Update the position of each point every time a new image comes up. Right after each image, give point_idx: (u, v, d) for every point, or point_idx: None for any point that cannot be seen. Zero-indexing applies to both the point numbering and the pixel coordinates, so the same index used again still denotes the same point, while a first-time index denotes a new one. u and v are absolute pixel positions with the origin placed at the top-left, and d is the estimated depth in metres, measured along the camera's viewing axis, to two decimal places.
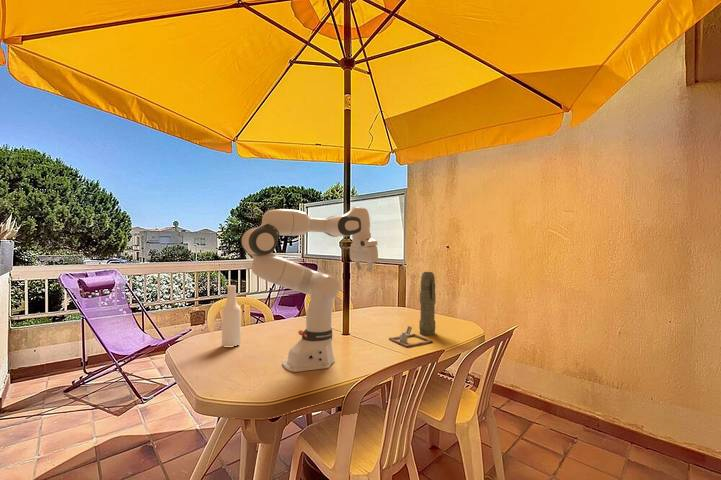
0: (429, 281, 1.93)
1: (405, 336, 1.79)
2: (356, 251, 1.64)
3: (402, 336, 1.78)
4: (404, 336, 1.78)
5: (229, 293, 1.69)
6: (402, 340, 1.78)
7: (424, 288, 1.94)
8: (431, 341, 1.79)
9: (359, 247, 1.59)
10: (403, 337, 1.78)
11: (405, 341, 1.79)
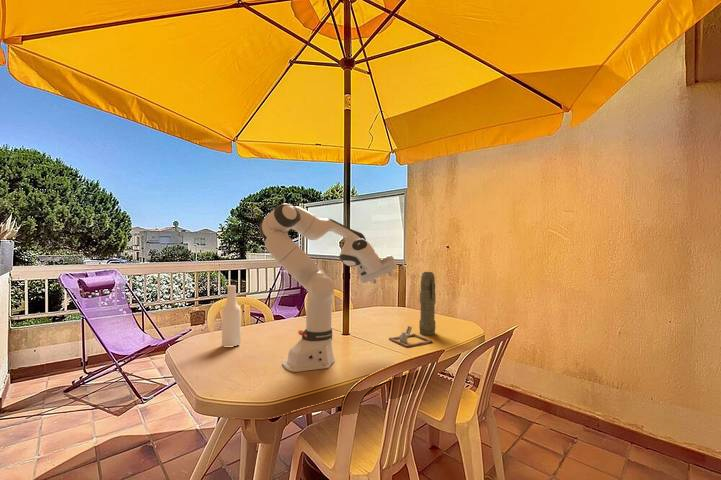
0: (429, 281, 1.93)
1: (405, 336, 1.79)
2: None
3: (402, 336, 1.78)
4: (404, 336, 1.78)
5: (229, 293, 1.69)
6: (402, 340, 1.78)
7: (424, 288, 1.94)
8: (431, 341, 1.79)
9: None
10: (403, 337, 1.78)
11: (405, 341, 1.79)
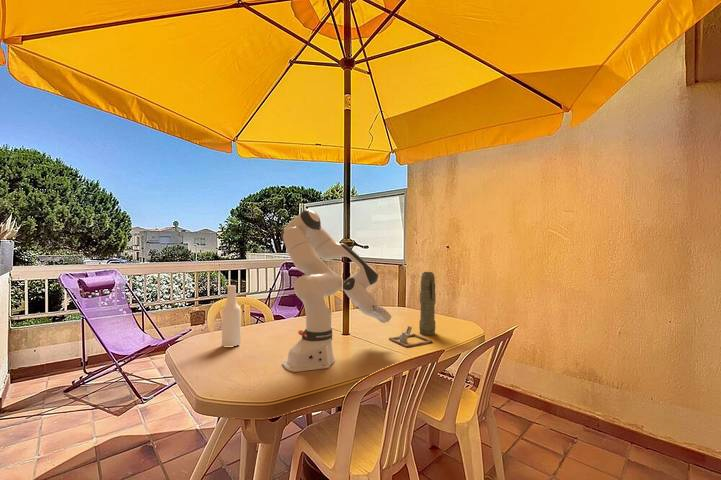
0: (429, 281, 1.93)
1: (405, 336, 1.79)
2: None
3: (402, 336, 1.78)
4: (404, 336, 1.78)
5: (229, 293, 1.69)
6: (402, 340, 1.78)
7: (424, 288, 1.94)
8: (431, 341, 1.79)
9: None
10: (403, 337, 1.78)
11: (405, 341, 1.79)
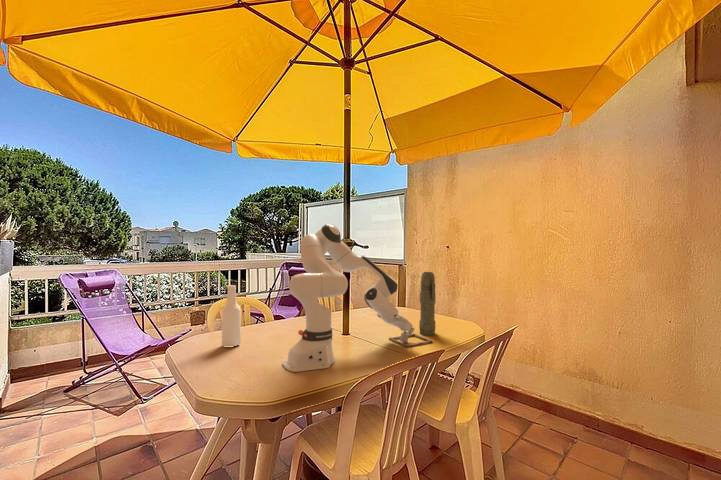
0: (429, 281, 1.93)
1: (406, 335, 1.79)
2: None
3: (404, 334, 1.78)
4: (405, 335, 1.79)
5: (229, 293, 1.69)
6: (403, 338, 1.78)
7: (424, 288, 1.94)
8: (431, 341, 1.79)
9: None
10: (404, 336, 1.78)
11: (405, 340, 1.79)
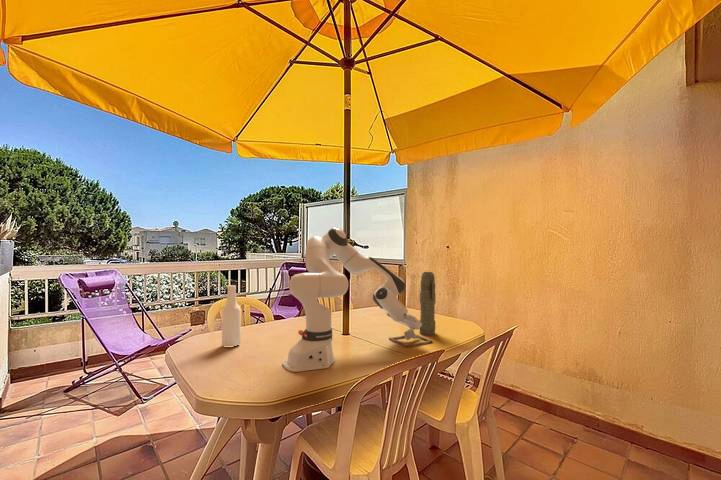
0: (429, 281, 1.93)
1: (412, 334, 1.81)
2: None
3: (411, 331, 1.81)
4: (411, 333, 1.81)
5: (229, 293, 1.69)
6: (408, 333, 1.80)
7: (424, 288, 1.94)
8: (431, 341, 1.79)
9: None
10: (410, 332, 1.81)
11: (408, 337, 1.80)
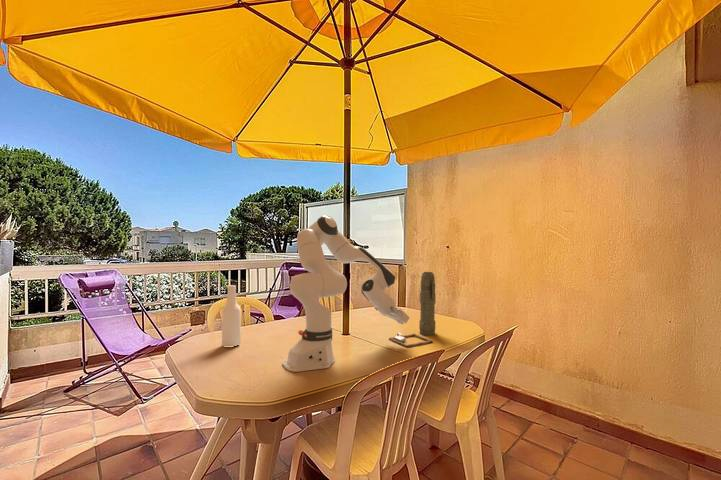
0: (429, 281, 1.93)
1: (399, 336, 1.83)
2: None
3: (396, 337, 1.81)
4: (398, 336, 1.82)
5: (229, 293, 1.69)
6: (399, 338, 1.80)
7: (424, 288, 1.94)
8: (431, 341, 1.79)
9: None
10: (398, 337, 1.81)
11: (402, 338, 1.81)
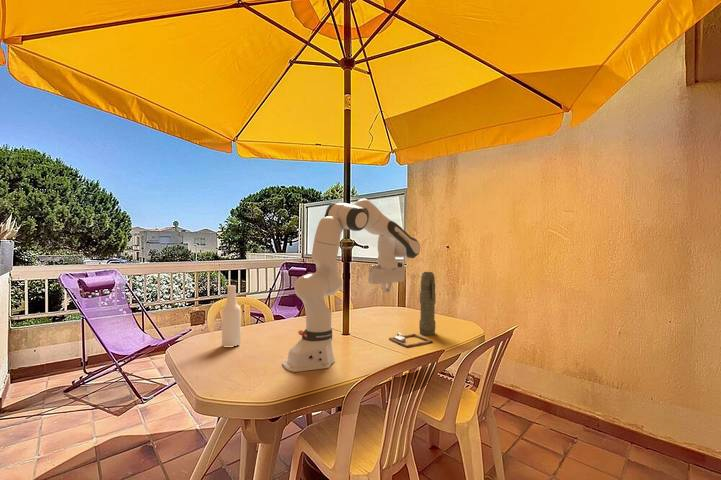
0: (429, 281, 1.93)
1: (399, 336, 1.83)
2: (383, 274, 1.70)
3: (396, 337, 1.81)
4: (398, 336, 1.82)
5: (229, 293, 1.69)
6: (399, 338, 1.80)
7: (424, 288, 1.94)
8: (431, 341, 1.79)
9: (392, 269, 1.71)
10: (398, 337, 1.81)
11: (402, 338, 1.81)
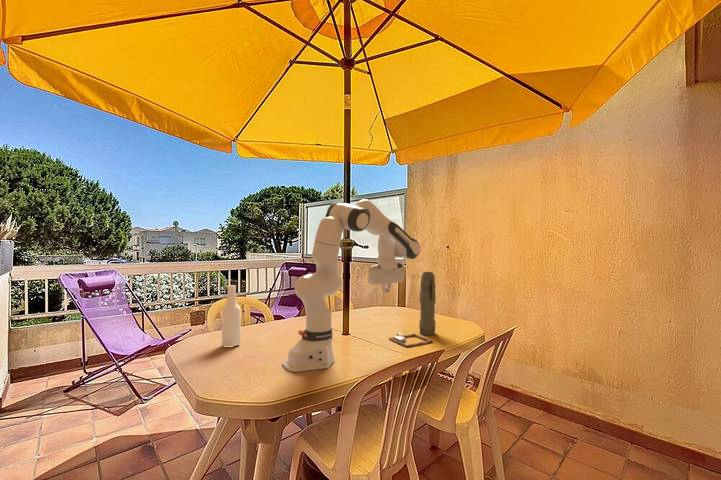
0: (429, 281, 1.93)
1: (399, 336, 1.83)
2: (382, 274, 1.70)
3: (396, 337, 1.81)
4: (398, 336, 1.82)
5: (229, 293, 1.69)
6: (399, 338, 1.80)
7: (424, 288, 1.94)
8: (431, 341, 1.79)
9: (392, 269, 1.72)
10: (398, 337, 1.81)
11: (402, 338, 1.81)
